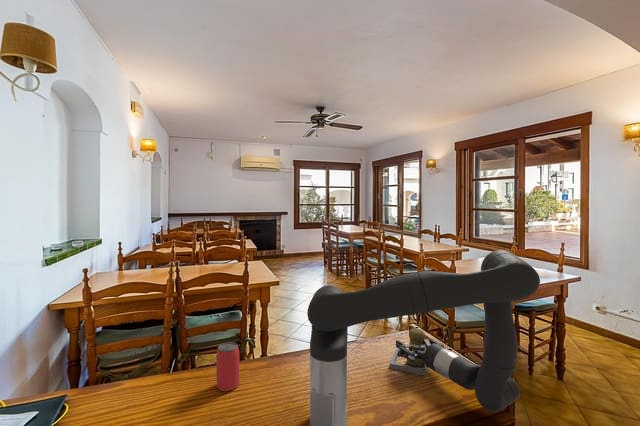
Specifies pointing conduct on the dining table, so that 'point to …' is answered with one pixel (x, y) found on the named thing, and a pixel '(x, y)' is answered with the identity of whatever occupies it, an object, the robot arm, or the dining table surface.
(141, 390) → the dining table surface
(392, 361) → the gray square frame
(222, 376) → the beer can
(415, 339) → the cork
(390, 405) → the dining table surface
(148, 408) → the dining table surface
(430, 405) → the dining table surface
